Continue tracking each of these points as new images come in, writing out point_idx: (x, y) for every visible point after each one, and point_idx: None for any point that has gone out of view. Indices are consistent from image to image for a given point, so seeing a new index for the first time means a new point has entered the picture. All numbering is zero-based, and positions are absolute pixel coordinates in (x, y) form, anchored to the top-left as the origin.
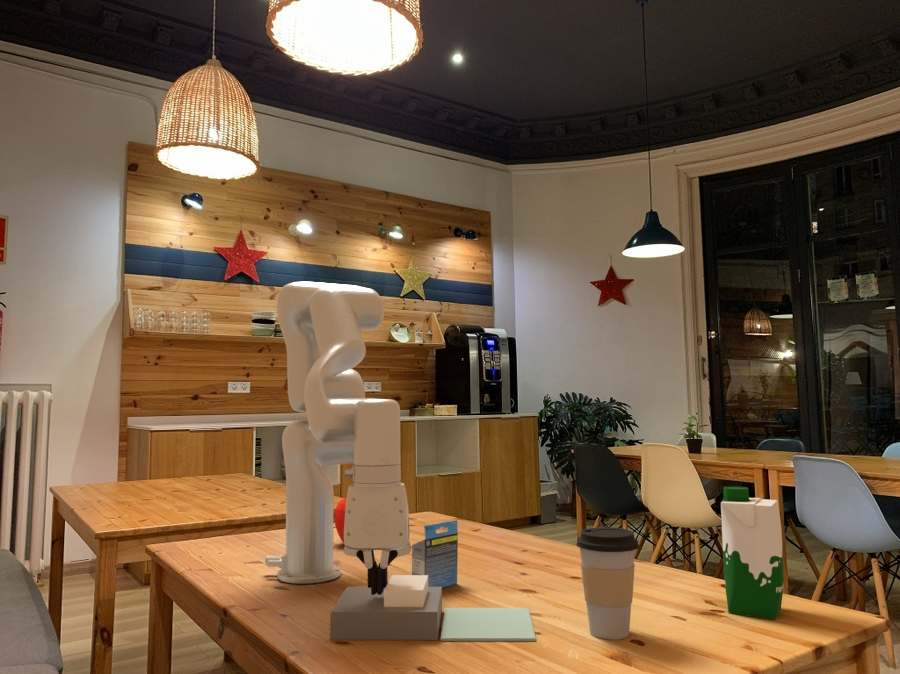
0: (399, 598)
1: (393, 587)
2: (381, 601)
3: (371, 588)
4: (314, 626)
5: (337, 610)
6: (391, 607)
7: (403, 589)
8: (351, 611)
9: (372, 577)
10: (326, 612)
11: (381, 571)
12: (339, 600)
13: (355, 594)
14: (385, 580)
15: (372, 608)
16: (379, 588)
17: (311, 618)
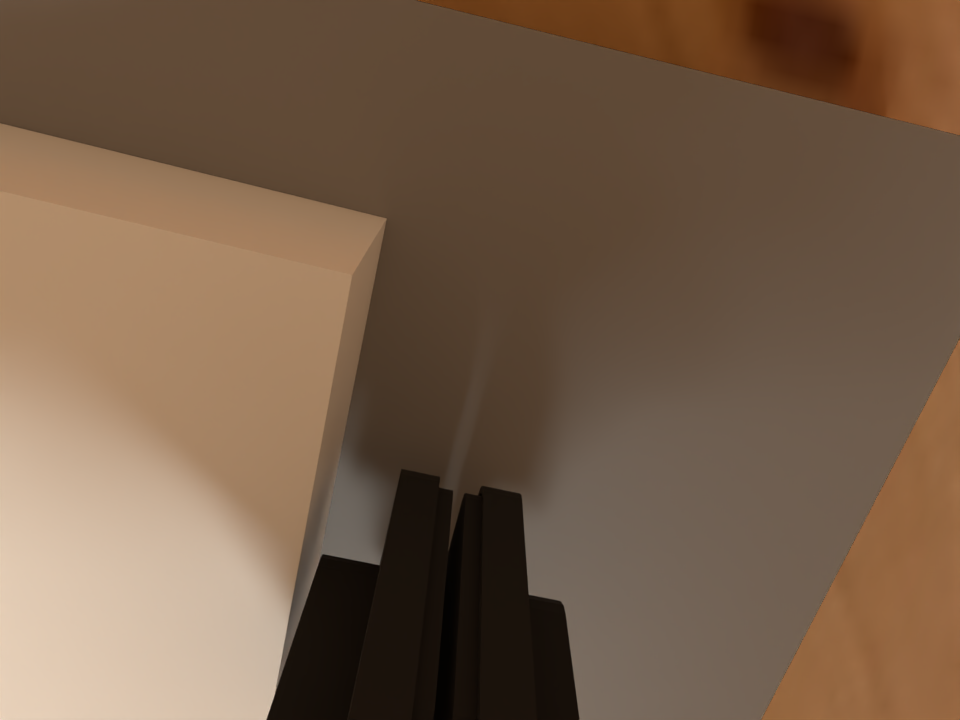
0: (153, 187)
1: (204, 385)
2: (406, 425)
3: (519, 529)
4: (929, 471)
5: (955, 199)
6: (296, 173)
7: (33, 240)
8: (799, 123)
9: (510, 629)
10: (781, 714)
11: (348, 715)
12: (837, 546)
13: (644, 686)
14: (314, 608)
15: (530, 184)
16: (414, 505)
17: (907, 629)
